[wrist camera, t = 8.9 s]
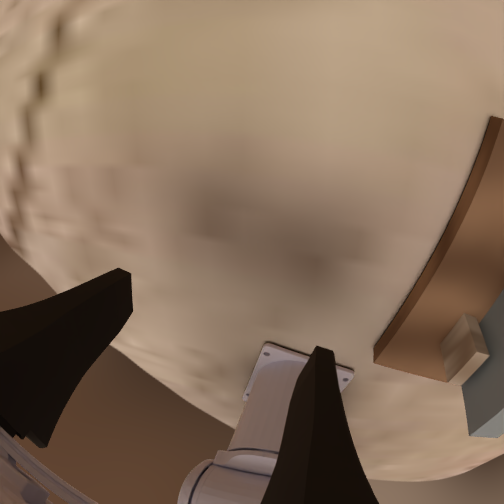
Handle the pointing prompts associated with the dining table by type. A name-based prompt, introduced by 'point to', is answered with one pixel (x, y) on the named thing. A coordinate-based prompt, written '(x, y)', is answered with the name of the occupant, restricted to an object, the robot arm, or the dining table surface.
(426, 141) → the dining table surface
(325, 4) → the dining table surface
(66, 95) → the dining table surface
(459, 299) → the cabinet base
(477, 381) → the grey block
